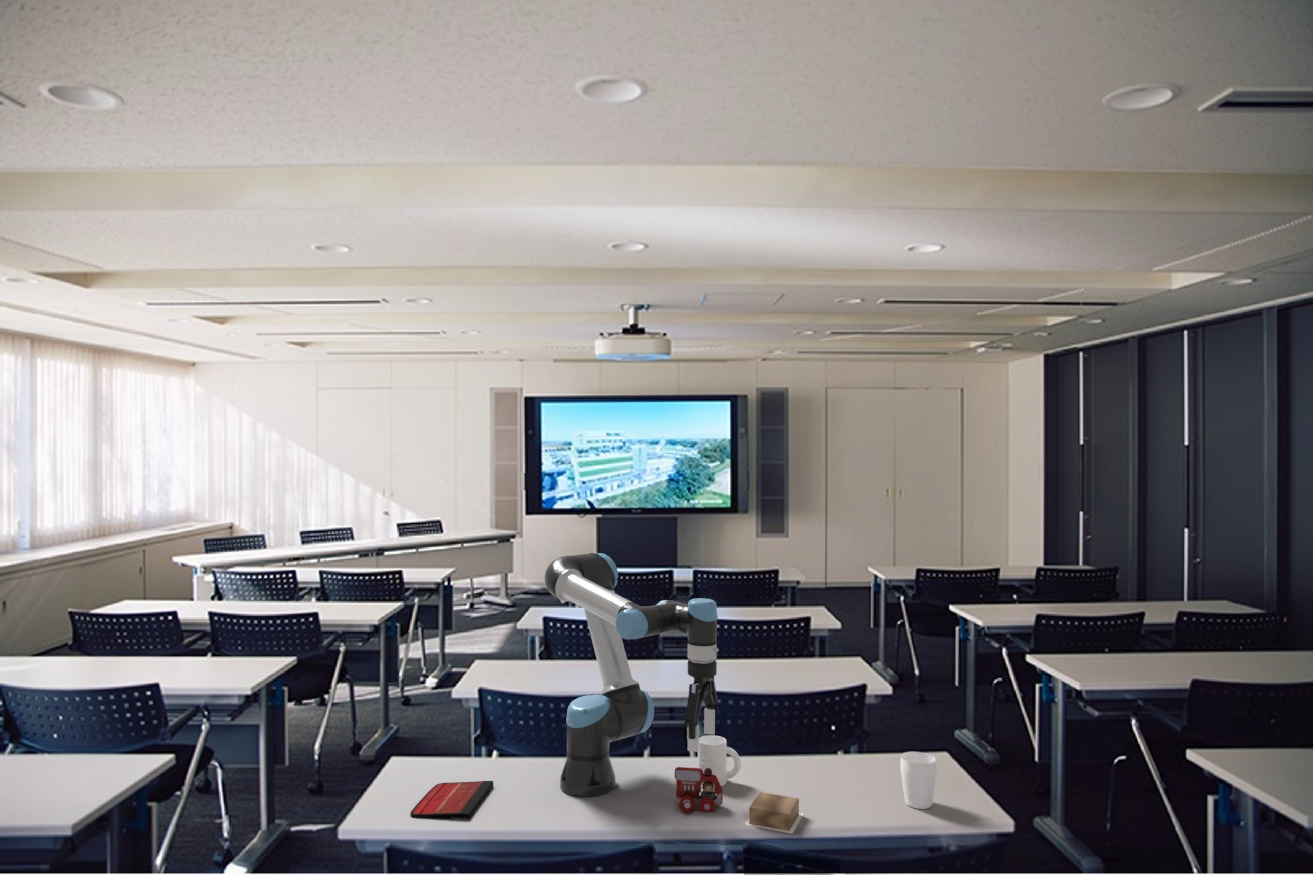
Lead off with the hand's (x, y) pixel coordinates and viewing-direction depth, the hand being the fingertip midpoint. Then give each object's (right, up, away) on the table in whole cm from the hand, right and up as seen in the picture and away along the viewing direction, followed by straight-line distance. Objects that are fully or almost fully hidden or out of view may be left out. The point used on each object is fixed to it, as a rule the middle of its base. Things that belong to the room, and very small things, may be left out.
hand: (701, 742), depth 214 cm
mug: (+6, -17, +15) cm, 23 cm away
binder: (-65, -17, +3) cm, 67 cm away
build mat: (+18, -17, -9) cm, 26 cm away
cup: (+57, -17, +2) cm, 59 cm away
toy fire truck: (-1, -17, -1) cm, 17 cm away
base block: (+18, -16, -9) cm, 25 cm away
